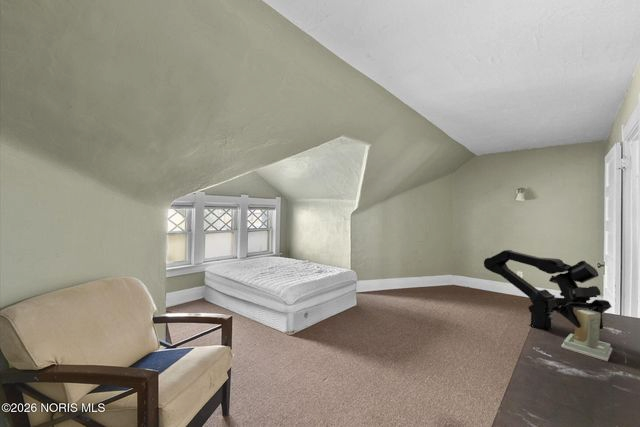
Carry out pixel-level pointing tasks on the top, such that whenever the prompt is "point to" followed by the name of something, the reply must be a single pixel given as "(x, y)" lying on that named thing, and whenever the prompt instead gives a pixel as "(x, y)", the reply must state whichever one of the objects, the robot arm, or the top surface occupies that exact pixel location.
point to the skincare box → (587, 328)
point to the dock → (598, 352)
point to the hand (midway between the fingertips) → (590, 328)
